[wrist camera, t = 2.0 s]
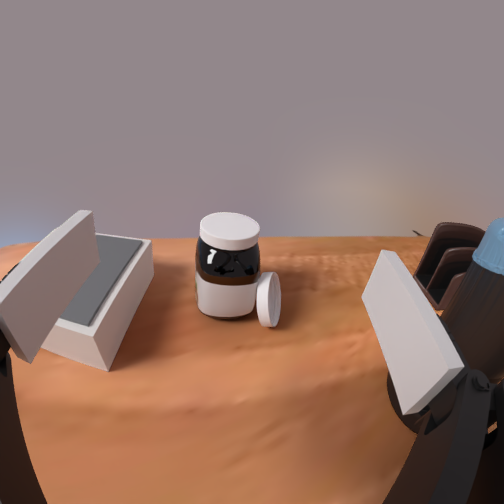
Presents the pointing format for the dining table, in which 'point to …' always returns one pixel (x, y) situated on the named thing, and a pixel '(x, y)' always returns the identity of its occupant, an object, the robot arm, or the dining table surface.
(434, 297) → the letter holder
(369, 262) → the dining table surface
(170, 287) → the dining table surface
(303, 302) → the dining table surface
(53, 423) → the dining table surface
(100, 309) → the riser
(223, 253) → the spread jar
